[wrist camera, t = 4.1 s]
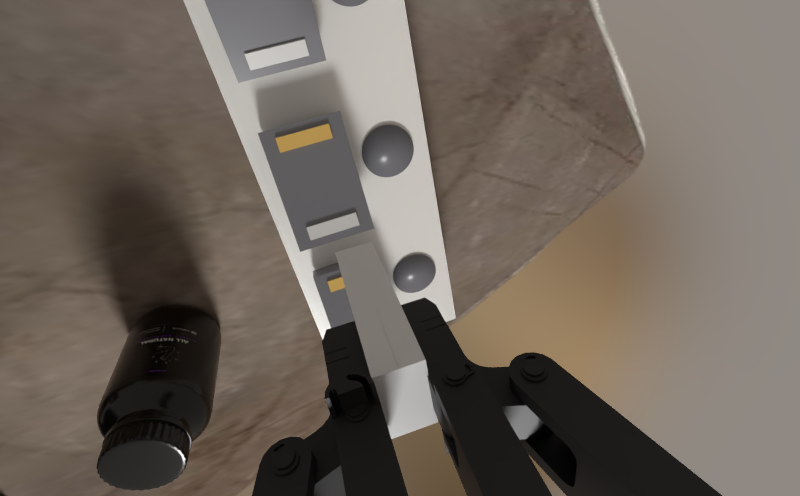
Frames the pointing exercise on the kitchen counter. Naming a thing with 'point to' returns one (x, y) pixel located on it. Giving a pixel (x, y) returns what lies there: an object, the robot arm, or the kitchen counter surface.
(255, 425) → the kitchen counter surface
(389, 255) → the power strip
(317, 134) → the rocker
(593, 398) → the robot arm
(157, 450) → the supplement bottle
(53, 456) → the kitchen counter surface
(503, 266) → the kitchen counter surface
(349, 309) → the rocker
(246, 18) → the plate
